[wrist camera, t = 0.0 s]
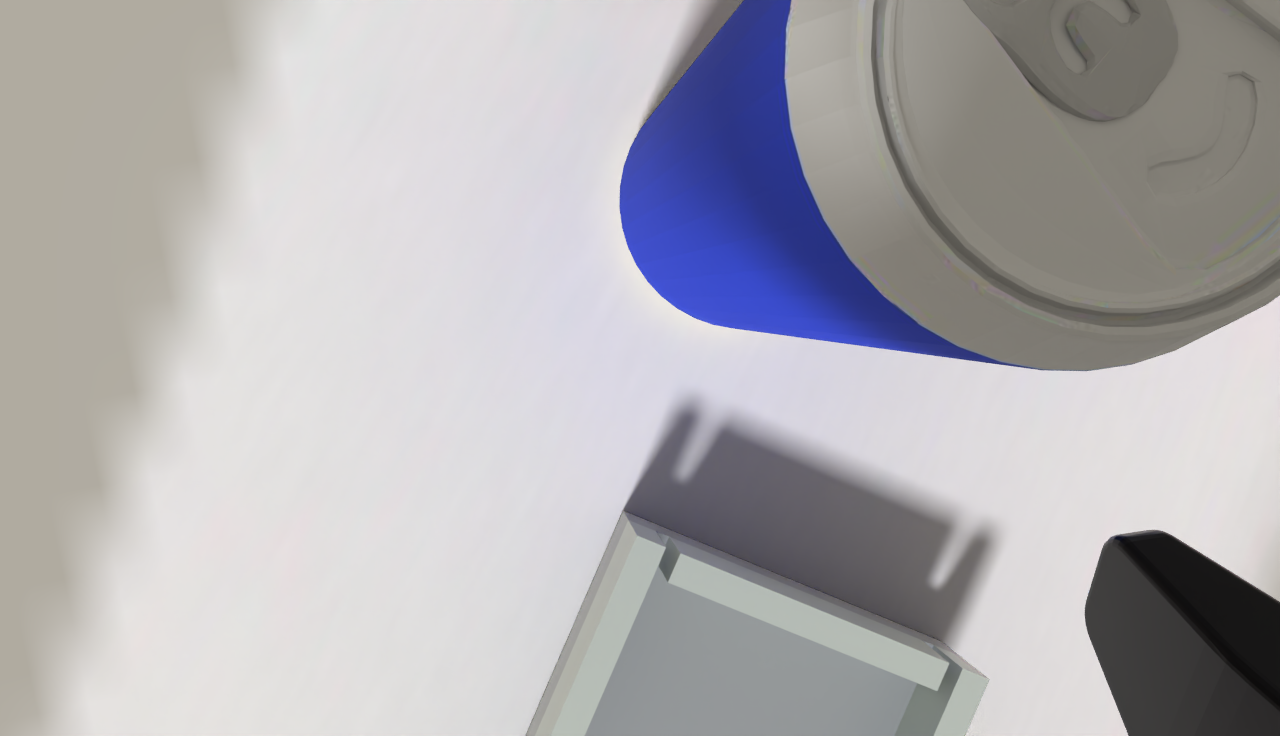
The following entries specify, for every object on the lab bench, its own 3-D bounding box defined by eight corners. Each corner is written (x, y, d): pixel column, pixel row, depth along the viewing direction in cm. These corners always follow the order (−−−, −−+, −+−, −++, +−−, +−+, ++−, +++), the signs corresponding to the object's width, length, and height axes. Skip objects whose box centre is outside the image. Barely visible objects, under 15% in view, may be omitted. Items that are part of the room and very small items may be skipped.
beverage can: (908, 196, 24) (1570, 30, 9) (747, 378, 24) (1154, 513, 9) (731, 25, 23) (1135, -455, 8) (564, 212, 23) (674, 58, 8)
